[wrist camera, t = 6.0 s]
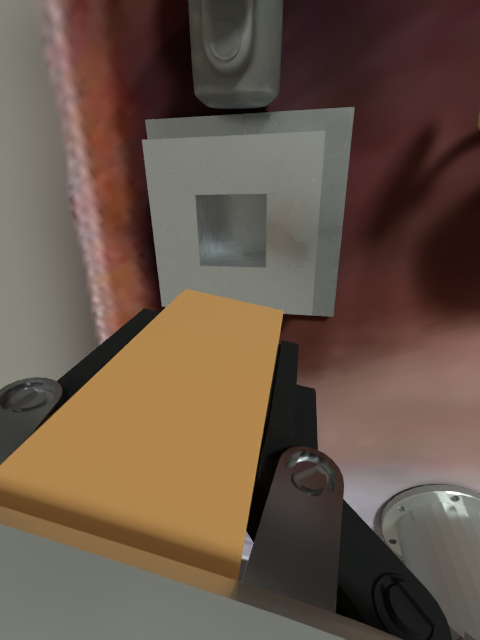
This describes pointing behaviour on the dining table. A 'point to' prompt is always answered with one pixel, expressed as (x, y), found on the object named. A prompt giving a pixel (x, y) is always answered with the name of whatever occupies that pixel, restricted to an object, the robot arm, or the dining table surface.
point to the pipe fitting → (236, 51)
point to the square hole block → (250, 205)
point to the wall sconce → (479, 120)
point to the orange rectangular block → (161, 437)
